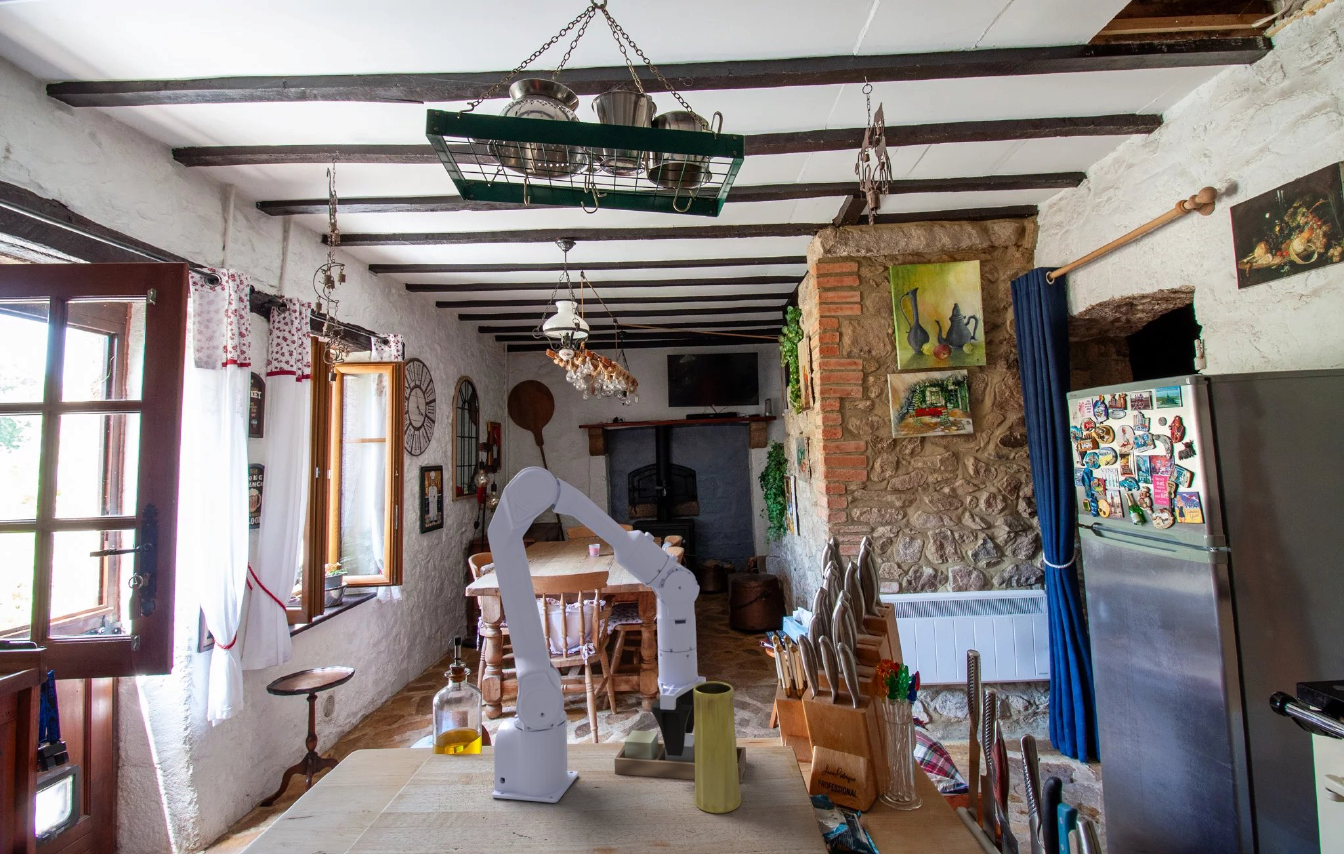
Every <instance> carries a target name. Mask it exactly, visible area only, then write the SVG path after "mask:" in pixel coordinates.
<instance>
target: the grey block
mask: <svg viewBox="0 0 1344 854" xmlns="http://www.w3.org/2000/svg"><path fill="white" fill-rule="evenodd" d="M665 761H676V762H691V763H695V744H694V734H689V733H685V742H684V749H683V753H682V756H671V755H667V752H666V749H665Z"/></svg>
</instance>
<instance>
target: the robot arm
mask: <svg viewBox="0 0 1344 854" xmlns="http://www.w3.org/2000/svg"><path fill="white" fill-rule="evenodd" d="M551 505H553V506H552V509H551V511H552V512H553V513H555V514H560V515H567V516H570V517H571V516H572V517H574V518H575V519H576V520H577V521H578V522H580V523H581V524H583V526H585V527H586V528H588V529H589V530H590V531H591V532H593V533H594V534H595V535H597V536H598V537H600V538H601V540H603V541H604V542H605V543H607V544H608V545H609V546H611V547H612V548H613V553H614V554H613V555H614V557H613V558H614V561H615V563H616V564H618V565H619V566H620V567H622V568H623V569H624V570H625V571H627V572H628V573H629V574H630V575H631V576H633V577H634V578H636V580H638V581H639V582H640V583H642V585H644V586H645V587H647V588H651V589H652V591H653V593H654V595H655V596H657V597H659V598H657V603H656V604H657V616H656V623H657V624H656V626H657V627H656V628H657V631H656V633H657V656H658V657H657V658H658V659H657V663H658V677H657V687H658V688H659V689H658V690H659V693H660V694H659V700H653V702H652V703H651V704H650V709H651V713H652V715H653V716H654V718H655V720H656V722H657V724H658V726H659V729H660V733H661V737H662V740H663V742H664V745H665V749H666V752H667V755H671V756H682V753H683V749H684V742H685V734H693V732H694V697H693V691H694V687H695V686H696V685H698V684H700V683H703V682H707V679H706V678H707V677H706V676H701V675H700V676H699V674H698V657H697V656H698V655H697V654H698V653H697V630H696V629H697V627H696V625H697V624H696V623H697V622H696V613H695V601H697V598H698V596H699V593H700V585H699V584H698V581H697V580H696V576H695V574H694V573H693V572H692V571H691V570H689V569H688V568H686V567H684V566H683V565H682V564H681V563H680V562H678V560H679V557H678V556H677V555H675V554H673V553H672V554H669V553H668V552H666V550H664V549H663V548H662V547H660V546H659V544H657V543H656V542H654V540H655V537H654V536H653V535H652V534H651V533H650V532H648V531H646V532H645V533H644V532H643V531H642V530H639V529H637V530H630V531H629V530H628V531H626V529H625V528H623V527H622V526H621V525H620V524H619V523H618V522H616V521H615V520H614V519H613V518H612V517H611V516H610V515H608V514H607V513H606V511H604V510H603V509H602V508H600V507H599V506H598V505H597V504H596V503H595V502H594V501H592V500H591V499H590V498H589V497H587V495H586V494H584V492H582V491H581V490H579V489H578V488H577V487H575V486H573V485H571V484H569V483H568V482H566V481H564V480H562V479H561V478H559V477H557V478H555V476H554V475H553V474H552V473H551V472H550V471H549V470H548V469H547V468H543V467H541V466H529V467H525V468H523V469H521V470H520V471H519V472H518V473H516V474H515V476H514V477H513V478H512V479H511V480H510V481H509V483H508V484H507V485H506V486H505V487H504V489H503V491H502V493H501V496H500V499H499V501H498V505H497V506H496V509H495V512H494V513H493V517H492V519H491V521H490V523H489V526H488V528H487V538H488V544H489V547H490V552H491V558H492V561H493V566H494V571H495V577H496V578H497V579H496V580H497V584H498V585H497V586H498V589H499V593H500V598H501V603H502V607H503V612H504V616H505V620H506V624H507V631H508V635H509V639H510V643H511V647H512V648H511V649H512V653H513V656H514V657H513V658H514V665H515V672H516V673H515V675H516V680H517V681H516V682H517V690H518V691H517V697H516V700H515V702H516V703H515V711H516V714H515V715H514V717H507V718H505V719H504V720H503V721H502V722H501V723H500V725H499V727H498V729H497V731H496V735H495V740H494V752H493V754H494V755H493V756H494V759H493V760H494V763H493V764H494V765H493V766H494V767H493V768H494V772H493V773H494V791H493V792H492V793H491V797H492V798H494V799H495V798H497V799H505V800H506V799H508V800H518V801H529V802H530V801H532V802H542V803H553V804H555V803H558V802H559V800H560V799H561V798H562V796H563V795H564V794H565V792H566V791H567V790H568V789H569V787H570V786H571V785H572V783H574V781H575V780H576V778H577V777H578V776H579V771H577V770H568V768H569V766H568V727H567V726H568V724H567V722H568V721H567V715H568V714H567V712H566V711H565V710H564V706H565V696H564V693H563V690H562V685H563V683H562V682H563V679H562V676H561V673H560V671H559V669H558V668H557V667H556V666H555V665H554V664H553V662H552V659H551V656H550V652H549V648H548V646H547V642H546V637H545V633H544V628H543V623H542V620H541V616H540V615H541V614H540V611H539V605H538V601H537V597H536V592H535V588H534V583H533V580H532V574H531V571H530V565H529V561H528V556H527V552H526V549H525V548H526V547H525V544H524V540H523V537H524V535H525V534H526V533H527V531H528V530H529V528H530V527H531V525H532V524H533V522H534V520H535V519H536V518H537V517H538V516H540V515H541V514H543V513H544V512H545V511H546V510H548V509H549V507H551Z"/></svg>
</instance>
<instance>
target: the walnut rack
mask: <svg viewBox="0 0 1344 854" xmlns="http://www.w3.org/2000/svg"><path fill="white" fill-rule="evenodd" d="M735 738H736V739H737V736H736V735H735ZM736 751H737V762H738V763H737V764H738V776H739V784H740V783H741V784H742V783H743V778H744V773H745V770H746V765H747V748H746V747H745V746H744V747H743V746H742V747H741V746H736ZM617 753H618V754H617V755H616V756H615V757H614V774H615V775H628V776H629V775H631V776H642V777H645V776H646V777H656V778H671V779H684V780H695V763H691V762H676V761H665V745H664V741H662V742H660V741H659V731H650V730H633V729H632V730H631V731H630V733H629V734H628V736H627V737H626V739H625V740H624V745H623V746H622V747H621V749H620V751H618V752H617ZM744 769H745V770H744Z"/></svg>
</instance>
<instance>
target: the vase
mask: <svg viewBox="0 0 1344 854" xmlns="http://www.w3.org/2000/svg"><path fill="white" fill-rule="evenodd" d="M734 696H735V695H734V687H733V685H731V684H730V683H727V682H723V681H718V680H717V681H716V680H714V681H706V682H703V683H700V684H698V685H696V686H695V687H694V691H693V697H694V728H693V732H694V734H693V735H694V744H695V779H694V798H693V799H694V800H693V801H694V804H695V806H696V807H697V808H698V809H700V810H701V811H704V812H707V813H710V814H711V813H712V814H726V813H727V814H728V813H729V812H733V811H735V810H736V809H737V808H739V807H740V806H741V803H742V794H741V789H740V783H739V776H738V763H737V751H736V747H737V737H736V738H735V736H736V724H735V720H736V719H735V701H734V700H735V699H734Z"/></svg>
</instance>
